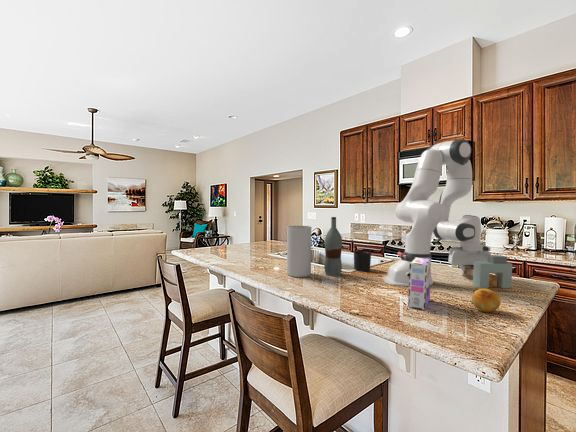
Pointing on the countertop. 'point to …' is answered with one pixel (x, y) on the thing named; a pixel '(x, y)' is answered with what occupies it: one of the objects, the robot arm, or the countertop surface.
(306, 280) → the countertop surface
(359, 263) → the pen holder
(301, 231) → the cylinder vase
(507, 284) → the grey-green arch block
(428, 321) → the countertop surface
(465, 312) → the countertop surface
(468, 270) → the bar
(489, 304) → the fruit
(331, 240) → the bottle
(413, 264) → the candy box
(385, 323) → the countertop surface
